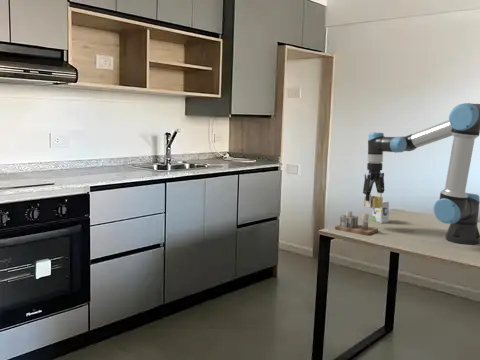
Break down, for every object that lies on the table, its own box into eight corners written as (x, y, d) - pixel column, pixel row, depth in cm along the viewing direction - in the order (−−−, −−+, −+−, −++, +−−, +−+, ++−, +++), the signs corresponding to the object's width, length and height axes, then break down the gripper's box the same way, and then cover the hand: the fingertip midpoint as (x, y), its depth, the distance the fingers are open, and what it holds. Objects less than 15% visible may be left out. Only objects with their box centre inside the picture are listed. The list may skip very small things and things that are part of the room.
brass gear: (373, 204, 264) (373, 195, 263) (384, 207, 257) (384, 197, 257) (362, 206, 260) (362, 196, 259) (373, 208, 253) (373, 198, 253)
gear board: (378, 231, 253) (379, 213, 252) (367, 235, 244) (368, 217, 243) (346, 225, 264) (347, 208, 263) (335, 229, 255) (335, 212, 254)
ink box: (388, 222, 273) (389, 201, 272) (380, 223, 272) (381, 202, 270) (379, 219, 281) (380, 198, 280) (371, 220, 279) (372, 199, 278)
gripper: (380, 161, 265) (379, 203, 268) (356, 163, 252) (355, 207, 255) (392, 162, 260) (391, 204, 262) (368, 164, 246) (367, 209, 249)
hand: (373, 206), depth 259 cm, fingers closed on brass gear, 8 cm apart
